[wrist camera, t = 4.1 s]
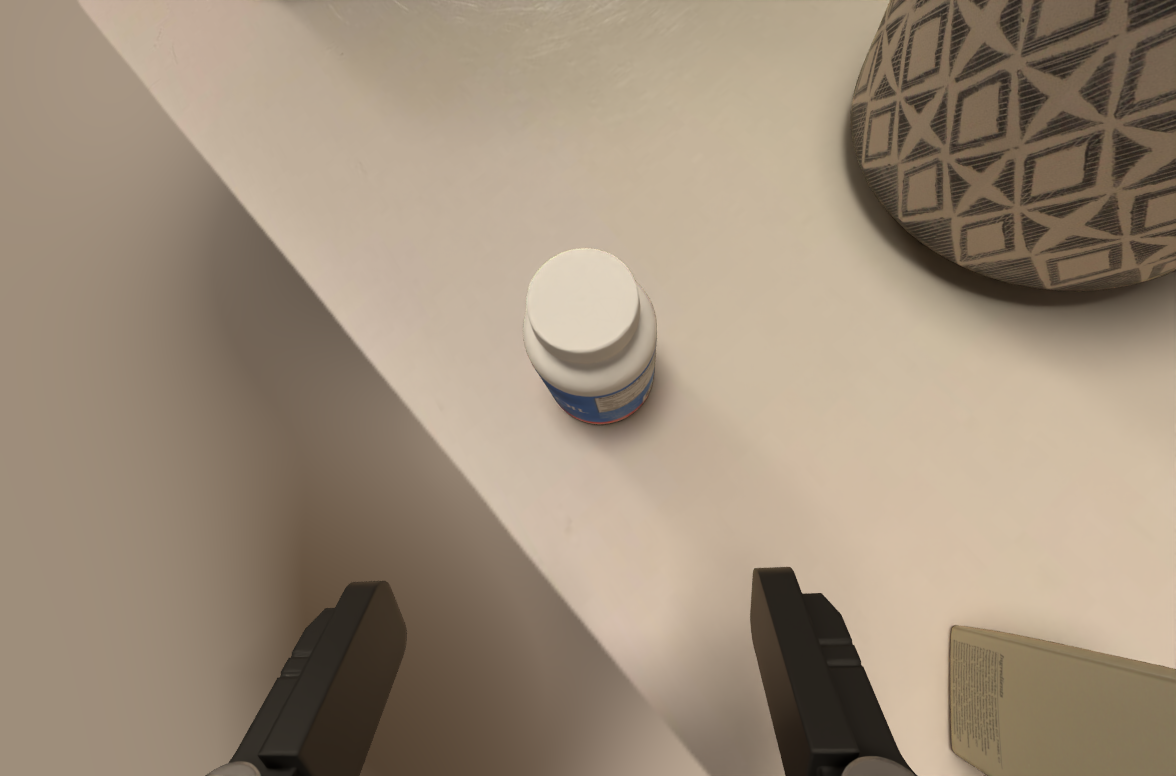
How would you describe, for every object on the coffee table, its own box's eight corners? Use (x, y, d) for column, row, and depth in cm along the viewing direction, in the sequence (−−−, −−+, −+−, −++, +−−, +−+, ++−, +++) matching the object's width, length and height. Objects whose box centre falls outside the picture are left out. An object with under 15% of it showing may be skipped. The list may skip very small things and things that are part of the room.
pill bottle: (530, 363, 29) (475, 278, 20) (615, 308, 29) (601, 199, 20) (587, 448, 27) (556, 400, 18) (675, 389, 28) (690, 312, 18)
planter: (1234, 348, 25) (2194, 35, 10) (809, 280, 28) (1009, -43, 13) (1217, 25, 30) (1849, -547, 14) (852, -4, 33) (1038, -500, 17)
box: (1063, 775, 22) (1604, 1081, 9) (945, 750, 22) (1308, 1006, 10) (1056, 634, 23) (1524, 741, 11) (945, 614, 24) (1267, 694, 11)
